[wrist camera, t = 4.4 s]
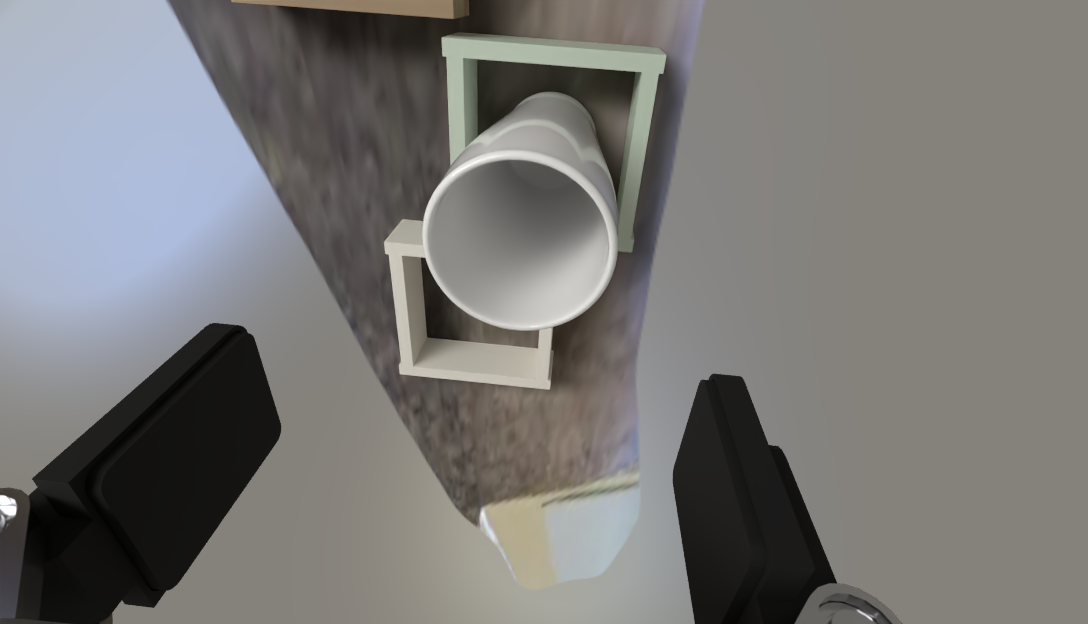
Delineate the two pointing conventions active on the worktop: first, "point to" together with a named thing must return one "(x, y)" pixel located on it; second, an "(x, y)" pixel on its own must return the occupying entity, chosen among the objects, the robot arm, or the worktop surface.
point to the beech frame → (382, 6)
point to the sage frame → (638, 59)
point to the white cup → (526, 218)
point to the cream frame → (452, 354)
